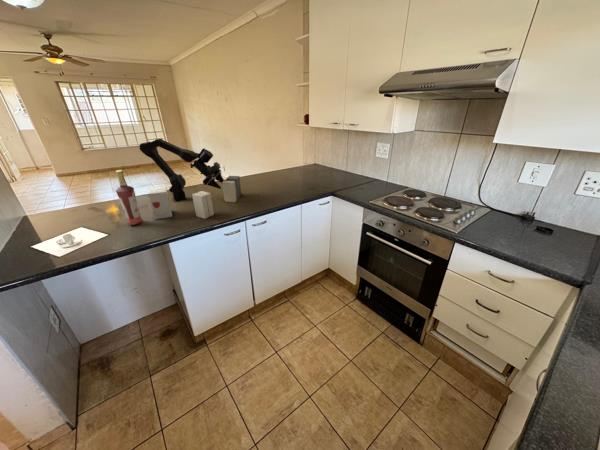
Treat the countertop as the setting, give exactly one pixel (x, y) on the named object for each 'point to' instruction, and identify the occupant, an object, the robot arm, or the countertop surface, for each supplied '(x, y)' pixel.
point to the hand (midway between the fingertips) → (223, 185)
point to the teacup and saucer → (69, 241)
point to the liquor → (128, 200)
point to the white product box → (160, 202)
